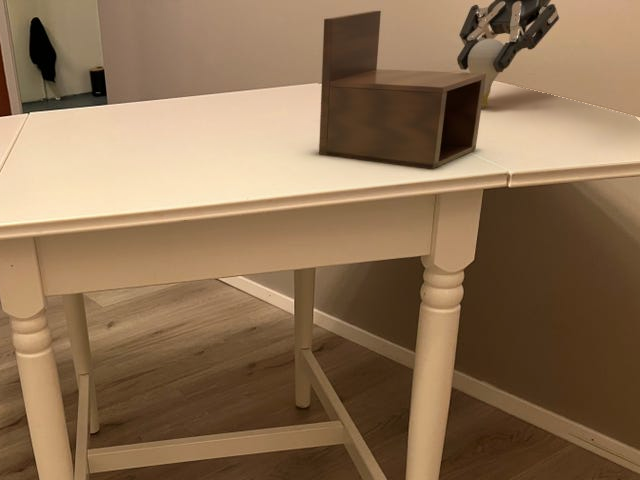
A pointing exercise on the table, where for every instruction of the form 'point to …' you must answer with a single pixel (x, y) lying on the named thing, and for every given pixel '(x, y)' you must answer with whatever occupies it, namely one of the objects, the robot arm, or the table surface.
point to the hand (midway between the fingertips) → (479, 67)
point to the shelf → (391, 102)
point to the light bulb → (485, 62)
